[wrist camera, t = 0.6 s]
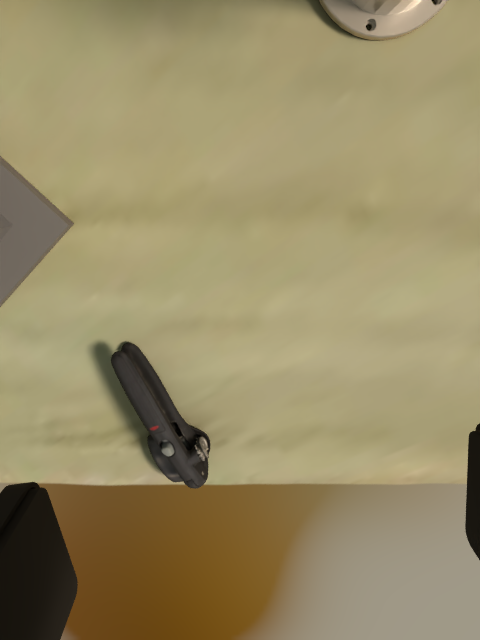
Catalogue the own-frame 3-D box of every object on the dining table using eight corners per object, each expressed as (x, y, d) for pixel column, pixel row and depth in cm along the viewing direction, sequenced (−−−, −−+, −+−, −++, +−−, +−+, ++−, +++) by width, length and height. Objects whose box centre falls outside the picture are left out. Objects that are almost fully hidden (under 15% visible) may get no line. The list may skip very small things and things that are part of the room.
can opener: (224, 455, 51) (223, 488, 46) (171, 475, 52) (164, 510, 47) (155, 326, 46) (145, 347, 40) (97, 351, 47) (79, 375, 41)
